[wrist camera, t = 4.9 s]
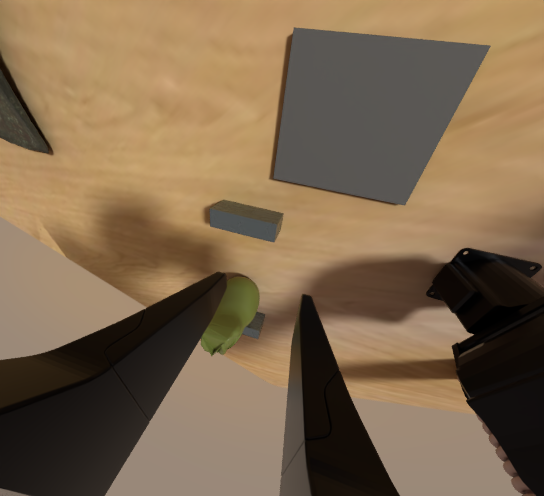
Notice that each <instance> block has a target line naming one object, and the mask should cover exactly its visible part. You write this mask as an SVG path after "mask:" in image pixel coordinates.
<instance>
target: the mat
mask: <svg viewBox="0 0 544 496" xmlns="http://www.w3.org/2000/svg"><path fill="white" fill-rule="evenodd" d="M489 48H490V46H488V45H477V44H466V43H456V42H445V41H434V40H423V39H412V38H401V37H391V36H380V35H369V34H358V33H347V32H336V31H325V30H315V29H304V28H294V30H293V37H292V44H291V52H290V59H289V67H288V74H287V81H286V89H285V96H284V104H283V111H282V118H281V126H280V133H279V140H278V148H277V155H276V163H275V170H274V177H273V179H278V180H283V181H288V182H293V183H298V184H302V185H307V186H312V187H317V188H322V189H327V190H332V191H337V192H342V193H346V194H351V195H356V196H361V197H366V198H371V199H376V200H381V201H385V202H390V203H395V204H400V205H405V204H406V202H407V201H408V199H409V197H410V195H411V193H412V191H413V189H414V188H415V186H416V184H417V182H418V180H419V178H420V176H421V175H422V173H423V171H424V169H425V167H426V165H427V163H428V162H429V160H430V158H431V156H432V154H433V152H434V150H435V149H436V147H437V145H438V143H439V141H440V139H441V137H442V136H443V134H444V132H445V130H446V128H447V126H448V124H449V123H450V121H451V119H452V117H453V115H454V113H455V111H456V110H457V108H458V106H459V104H460V102H461V100H462V98H463V97H464V95H465V93H466V91H467V89H468V87H469V85H470V84H471V82H472V80H473V78H474V76H475V74H476V72H477V71H478V69H479V67H480V65H481V63H482V61H483V59H484V58H485V56H486V54H487V52H488V50H489Z"/></svg>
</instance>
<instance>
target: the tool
mask: <svg viewBox="0 0 544 496" xmlns="http://www.w3.org/2000/svg"><path fill="white" fill-rule="evenodd" d="M0 138H2V139H4V140H6V141H8V142H10V143H13V144H16V145H18V146H21V147H24V148H27V149H29V150H37V151H40V152H44V153H49V150H48V147H47V145H46V144H45V142H44V140H43V139H42V137H41V136H40V135H39V133H38V131H37V129H36V128H35V127H34V125H33V124H32V122H31V121H30V118H29V117H28V116H27V114H26V112H25V110H24V109H23V107H22V105H21V104H20V102H19V100H18V99H17V97H16V95H15V94H14V92H13V91H12V89H11V87H10V85H9V83H8V82H7V80H6V78H5V77H4V75H3V73H2V71H1V69H0Z"/></svg>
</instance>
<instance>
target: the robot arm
mask: <svg viewBox="0 0 544 496" xmlns="http://www.w3.org/2000/svg"><path fill="white" fill-rule="evenodd" d="M465 251H469V253H468V254H466V255H464V254H463V253H464V252H465ZM533 266H536V268H535V269H533V270H530V268H531V267H533ZM541 268H542V266H541V265H540V264H538V263H534V262H530V261H525V260H521V259H516V258H512V257H507V256H503V255H498V254H494V253H489V252H485V251H480V250H476V249H472V248H464V249H462V250H461V251H460V252H459V253H458V254H457V256H456V257H455V258H454V259H453V260H452V262H451V263H450V264H447V265H445V267H444V268H443V269H442V270H441V272H440V273H439V274H438V275H437V277H436V278H435V279H434V280H433V282H432V284H433V285H432V286H431V287H430V289H429V290H428V291H427V293H426V295H427V296H428V297H431V298H435V299H438V300H442V301H444V302H445V303H446V305H447V306H448V308H449V309H450V311H451V312H452V313H455V315H456V316H457V318H458V319H459V320H460V322H461V323H462V325H463V326H464V328H465V329H466V331H467V332H468V333H472V334H474V335H473V336H471V337H469V338H467V339H466V340H464V341H462V342H460V343H456V344H454V345H452V349H453V354H454V358H455V362H456V367H457V370H456V374H457V377H458V379H459V381H460V384H461V387H462V390H463V392H464V395H465V397H466V398H467V400H466V402H467V403H468V405H469V406H470V407H471V408H472V409H473V410H474V411H475V413H476V414H477V415H478V416H479V417H480V418H481V419H482V421H483V422H484V423H485V425H486V426H487V427H488V429H489V430H490V431H491V433H492V434H493V435H494V437H495V438H496V440H497V441H498V443H499V444H500V446H501V447H502V449H503V450H504V452H505V454H506V455H507V457H508V459H509V460H510V462H511V464H512V465H513V467H514V469H515V470H516V472H517V474H518V475H519V477H520V479H521V480H522V481H523V483H524V484H525V485H526V486H527V487H528V488H529V489H530V490H531V491H532V492H533V493H534V494H535V495H536V496H544V288H543V287H542V286H540V285H539V284H538V283H536V282H535V281H533V280H532V279H531V277H532V276H534V275H535V274H536V273H537V272H538V271H539V270H540V269H541ZM226 288H227V276H226V274H225V273H221V272H216V273H214V274H212V275H210V276H209V277H207V278H205V279H203V280H201V281H199V282H197V283H195V284H193V285H191V286H189V287H187V288H185V289H183V290H181V291H179V292H177V293H175V294H173V295H171V296H169V297H167V298H165V299H163V300H161V301H159V302H157V303H155V304H153V305H151V306H149V307H147V308H146V309H144V310H141V311H140V312H138V313H136V314H134V315H131V316H129V317H127V318H125V319H123V320H121V321H119V322H117V323H115V324H112V325H110V326H108V327H106V328H104V329H101V330H99V331H96V332H94V333H92V334H89V335H87V336H85V337H82V338H81V339H78V340H76V341H73V342H71V343H68V344H66V345H64V346H61V347H59V348H56V349H54V350H51V351H48V352H45V353H41V354H37V355H33V356H27V357H20V358H12V359H5V360H0V496H105V494H106V493H107V491H108V489H109V488H110V486H111V485H112V483H113V481H114V479H115V478H116V476H117V475H118V473H119V471H120V470H121V468H122V466H123V465H124V463H125V462H126V460H127V458H128V457H129V455H130V453H131V452H132V450H133V449H134V447H135V445H136V444H137V442H138V440H139V439H140V437H141V435H142V434H143V432H144V430H145V429H146V427H147V426H148V424H149V421H150V420H151V419H152V417H153V415H154V414H155V412H156V410H157V409H158V407H159V406H160V404H161V402H162V401H163V399H164V397H165V396H166V394H167V392H168V391H169V389H170V387H171V386H172V384H173V383H174V381H175V379H176V378H177V376H178V374H179V373H180V371H181V370H182V368H183V366H184V365H185V363H186V361H187V360H188V358H189V357H190V355H191V353H192V352H193V350H194V348H195V347H196V345H197V343H198V342H199V340H200V339H201V337H202V335H203V334H204V332H205V330H206V329H207V327H208V325H209V324H210V322H211V320H212V319H213V317H214V315H215V313H216V311H217V308H218V306H219V304H220V302H221V300H222V298H223V296H224V293H225V291H226ZM431 292H434V294H433V295H430V293H431ZM281 476H282V477H281V485H280V496H400V495H399V493H398V492H397V490H396V488H395V487H394V485H393V483H392V481H391V479H390V477H389V475H388V473H387V471H386V469H385V467H384V465H383V463H382V461H381V459H380V457H379V455H378V453H377V451H376V449H375V447H374V445H373V443H372V441H371V439H370V437H369V435H368V433H367V431H366V429H365V427H364V425H363V423H362V421H361V419H360V416H359V414H358V412H357V410H356V408H355V406H354V404H353V401H352V399H351V397H350V395H349V392H348V390H347V387H346V385H345V382H344V380H343V377H342V375H341V372H340V371H339V367H338V364H337V362H336V359H335V357H334V354H333V351H332V349H331V346H330V344H329V341H328V338H327V336H326V333H325V330H324V328H323V325H322V323H321V320H320V317H319V315H318V312H317V310H316V307H315V304H314V302H313V299H312V297H311V296H310V295H306V294H302V296H301V300H300V304H299V308H298V313H297V318H296V323H295V328H294V333H293V338H292V345H291V357H290V370H289V383H288V395H287V408H286V421H285V434H284V447H283V460H282V472H281Z"/></svg>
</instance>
